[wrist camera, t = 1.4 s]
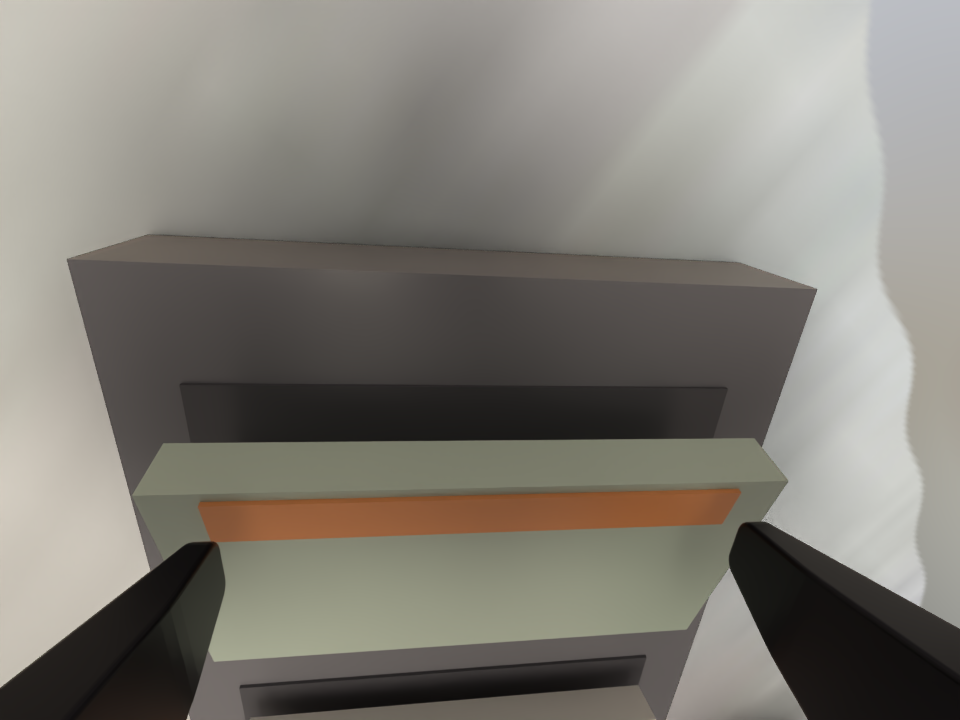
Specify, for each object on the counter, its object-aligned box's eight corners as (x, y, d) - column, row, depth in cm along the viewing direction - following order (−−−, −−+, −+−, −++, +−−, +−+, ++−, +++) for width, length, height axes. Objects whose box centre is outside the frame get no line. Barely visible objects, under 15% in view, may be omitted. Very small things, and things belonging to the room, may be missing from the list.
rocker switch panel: (616, 699, 22) (646, 780, 19) (246, 731, 20) (217, 828, 17) (739, 262, 14) (820, 290, 11) (147, 234, 12) (63, 260, 9)
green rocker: (657, 564, 14) (688, 633, 13) (238, 584, 13) (212, 666, 11) (737, 416, 11) (792, 484, 9) (178, 417, 9) (128, 500, 8)
